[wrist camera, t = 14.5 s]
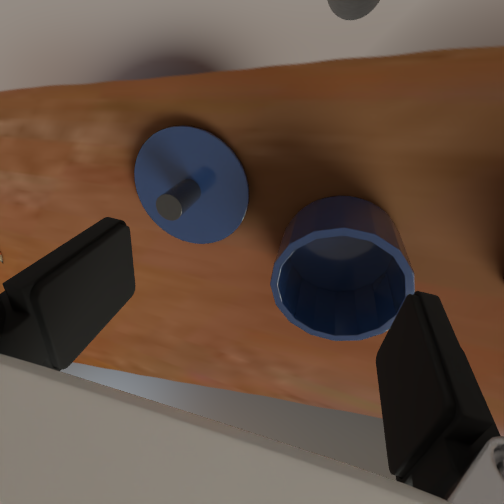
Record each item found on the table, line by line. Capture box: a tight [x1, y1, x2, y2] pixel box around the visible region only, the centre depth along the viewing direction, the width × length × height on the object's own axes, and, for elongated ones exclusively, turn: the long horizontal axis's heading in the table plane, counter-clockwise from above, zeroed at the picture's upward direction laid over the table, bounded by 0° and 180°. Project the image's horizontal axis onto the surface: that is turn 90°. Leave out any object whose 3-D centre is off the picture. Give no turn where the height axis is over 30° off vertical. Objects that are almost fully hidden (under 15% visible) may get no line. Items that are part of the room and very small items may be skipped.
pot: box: [270, 196, 415, 341], centre depth 34 cm, size 14×14×8 cm
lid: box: [134, 125, 249, 244], centre depth 36 cm, size 15×15×7 cm
